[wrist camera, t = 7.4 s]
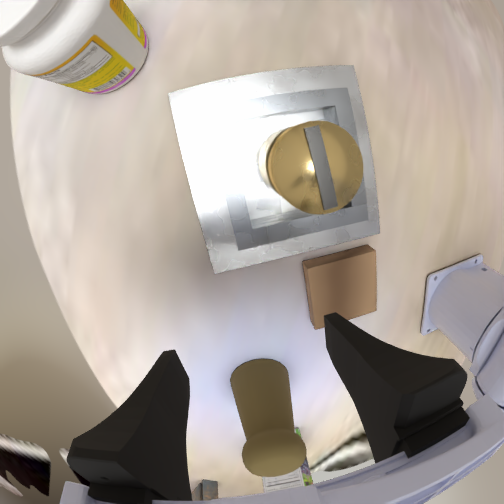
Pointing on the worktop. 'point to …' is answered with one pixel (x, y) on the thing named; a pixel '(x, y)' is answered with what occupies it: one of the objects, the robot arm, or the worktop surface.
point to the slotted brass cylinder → (312, 166)
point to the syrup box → (289, 477)
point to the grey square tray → (247, 167)
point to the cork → (267, 418)
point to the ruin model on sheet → (205, 491)
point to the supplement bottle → (73, 42)
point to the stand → (341, 284)
